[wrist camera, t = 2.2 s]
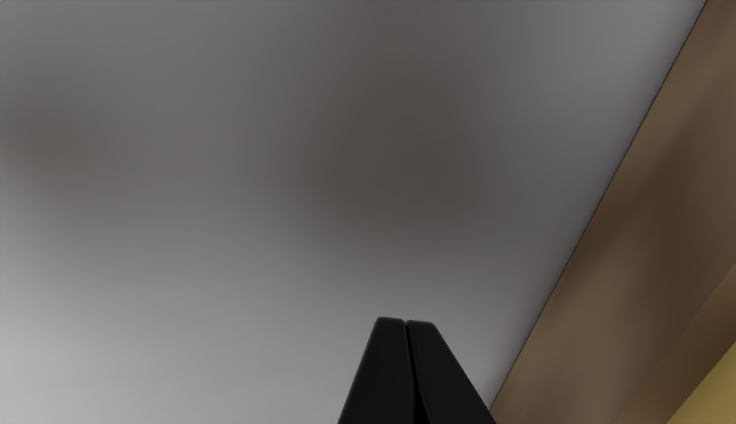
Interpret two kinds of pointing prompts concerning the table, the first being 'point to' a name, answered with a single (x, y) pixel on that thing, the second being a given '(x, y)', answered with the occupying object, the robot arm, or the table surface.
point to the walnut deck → (647, 261)
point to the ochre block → (712, 396)
